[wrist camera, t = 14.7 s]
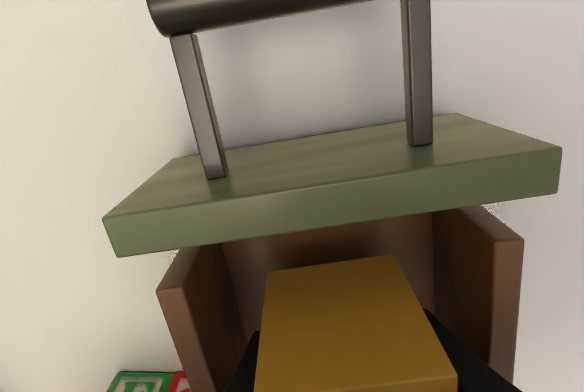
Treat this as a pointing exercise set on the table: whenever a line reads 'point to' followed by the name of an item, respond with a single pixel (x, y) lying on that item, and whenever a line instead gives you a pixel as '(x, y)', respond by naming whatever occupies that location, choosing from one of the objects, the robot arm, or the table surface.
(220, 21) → the drawer
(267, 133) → the table surface
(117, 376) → the stack of blocks
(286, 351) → the block
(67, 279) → the table surface
